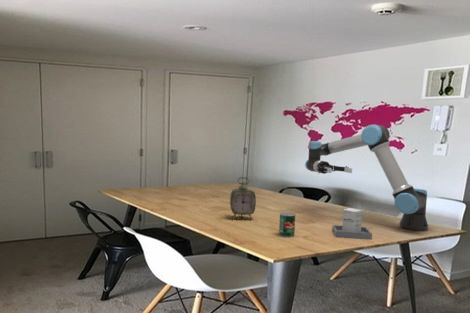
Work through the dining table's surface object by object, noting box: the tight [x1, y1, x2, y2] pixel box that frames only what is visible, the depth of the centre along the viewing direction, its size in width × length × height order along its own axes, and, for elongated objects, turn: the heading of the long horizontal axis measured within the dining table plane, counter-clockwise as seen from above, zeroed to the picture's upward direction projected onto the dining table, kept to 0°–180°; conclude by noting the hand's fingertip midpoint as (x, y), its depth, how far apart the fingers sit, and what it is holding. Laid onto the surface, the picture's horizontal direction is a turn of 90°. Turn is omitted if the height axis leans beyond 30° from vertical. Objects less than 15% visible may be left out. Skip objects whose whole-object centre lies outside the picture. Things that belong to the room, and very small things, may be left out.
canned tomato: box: [278, 212, 296, 238], centre depth 209 cm, size 8×8×11 cm
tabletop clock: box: [229, 176, 257, 221], centre depth 244 cm, size 14×9×25 cm, turn 95°
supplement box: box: [341, 207, 363, 233], centre depth 216 cm, size 7×7×13 cm
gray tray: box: [331, 224, 373, 240], centre depth 216 cm, size 18×14×3 cm
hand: (341, 170), depth 233 cm, fingers open, 13 cm apart
